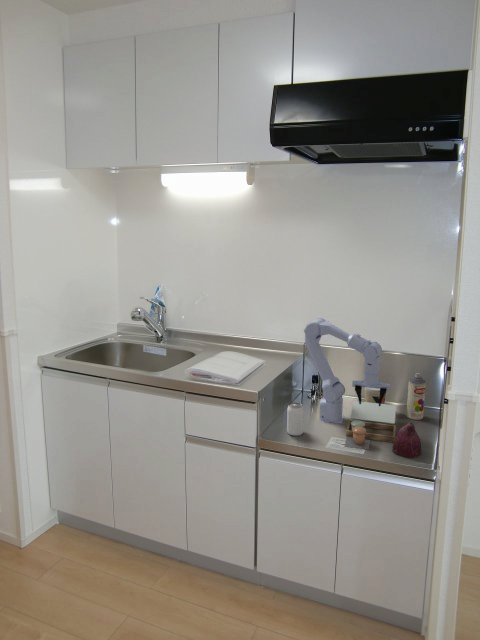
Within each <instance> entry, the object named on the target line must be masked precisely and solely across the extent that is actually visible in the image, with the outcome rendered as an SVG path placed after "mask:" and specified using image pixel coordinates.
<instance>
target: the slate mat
mask: <svg viewBox="0 0 480 640" xmlns="http://www.w3.org/2000/svg"><path fill="white" fill-rule="evenodd" d="M370 443H371V439H365V444H364V445H355V444H354V443H353V437H350V436H346V439H345V442H344V447H345V448H353V449H360V450H367V451H368V450H370Z"/></svg>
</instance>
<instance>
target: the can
mask: <svg viewBox="0 0 480 640" xmlns="http://www.w3.org/2000/svg"><path fill="white" fill-rule="evenodd" d="M286 412H287V413H286V414H287V416H286V417H287V418H286V419H287V420H286V422H287V424H286V425H287V426H286V431H287V434H289V435H290V436H293V437H298V436H302V435H303V433H304V407H303V404H302V403H300V402H295V401H294V402H290V403H289V404H288V406H287V410H286Z"/></svg>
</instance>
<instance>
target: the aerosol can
mask: <svg viewBox="0 0 480 640" xmlns="http://www.w3.org/2000/svg"><path fill="white" fill-rule="evenodd" d="M426 384H427V383H426V380H425V379H424V378H423V377H422V376H421V373H420V372H415V375H414V376H412V377H411V378H409V380H408V387H407V400H406V401H407V402H406V403H407V404H406V417H407V418H408V419H411V420H415V421H419V420H422V419H423V418H424V411H425V410H424V409H425V397H426Z"/></svg>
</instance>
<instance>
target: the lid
mask: <svg viewBox="0 0 480 640" xmlns="http://www.w3.org/2000/svg"><path fill="white" fill-rule="evenodd" d="M396 411H397V405H394V404H388V403H387V404H386V403H384V404H381V406H379V404H378V403H369V402H365V401H361V404H359V400H353V402H352V408H351V414H350V420H356V421H364V422H372V423H381V424H389V425H395V424H396Z"/></svg>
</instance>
